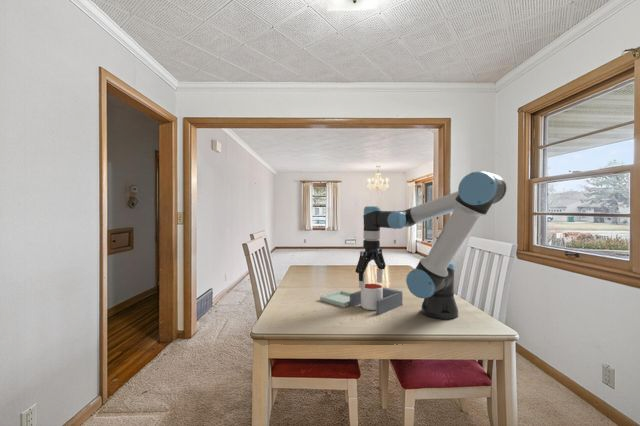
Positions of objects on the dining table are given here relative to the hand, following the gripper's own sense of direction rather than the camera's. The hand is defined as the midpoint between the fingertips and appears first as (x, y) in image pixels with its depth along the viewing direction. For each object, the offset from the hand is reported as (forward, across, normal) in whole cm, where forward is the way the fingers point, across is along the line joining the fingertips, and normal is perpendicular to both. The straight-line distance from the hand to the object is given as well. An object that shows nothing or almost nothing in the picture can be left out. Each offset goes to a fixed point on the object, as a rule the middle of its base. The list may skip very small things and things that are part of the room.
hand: (370, 285), depth 149 cm
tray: (+11, +1, -16) cm, 20 cm away
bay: (+10, -4, +1) cm, 11 cm away
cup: (+11, 0, +1) cm, 11 cm away
